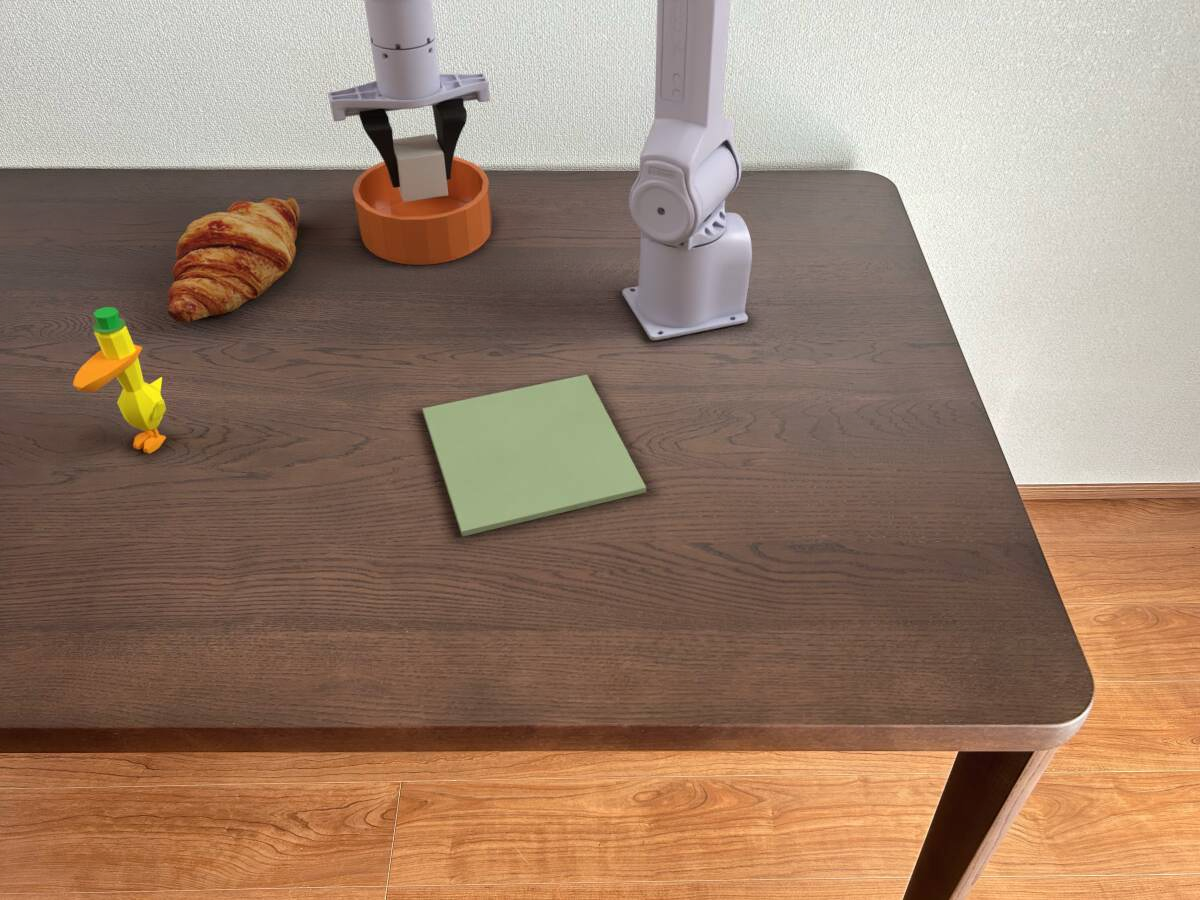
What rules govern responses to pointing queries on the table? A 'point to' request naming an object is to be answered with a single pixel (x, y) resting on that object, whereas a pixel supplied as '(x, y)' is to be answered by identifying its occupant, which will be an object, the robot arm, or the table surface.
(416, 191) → the block
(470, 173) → the bowl
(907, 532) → the table surface
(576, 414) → the mat
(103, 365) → the toy figure
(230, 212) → the croissant
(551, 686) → the table surface
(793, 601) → the table surface
